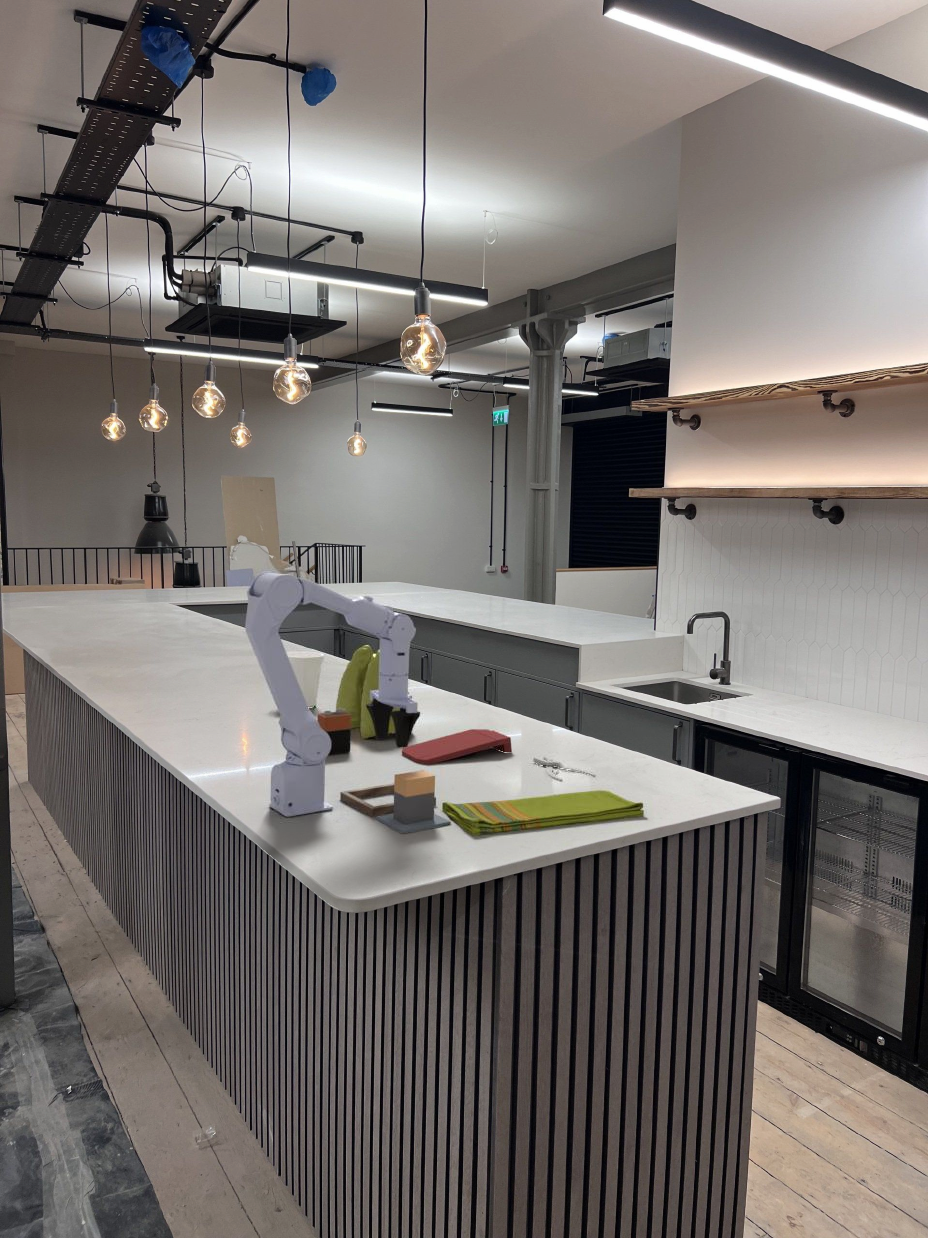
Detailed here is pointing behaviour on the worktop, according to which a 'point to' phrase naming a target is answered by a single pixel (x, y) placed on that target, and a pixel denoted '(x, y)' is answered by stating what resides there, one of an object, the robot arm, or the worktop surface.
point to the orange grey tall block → (414, 797)
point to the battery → (337, 730)
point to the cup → (307, 673)
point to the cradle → (354, 795)
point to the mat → (414, 826)
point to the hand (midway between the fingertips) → (391, 742)
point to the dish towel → (541, 812)
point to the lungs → (361, 690)
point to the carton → (456, 746)
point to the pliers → (551, 763)
